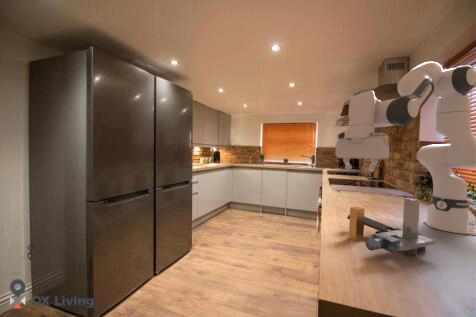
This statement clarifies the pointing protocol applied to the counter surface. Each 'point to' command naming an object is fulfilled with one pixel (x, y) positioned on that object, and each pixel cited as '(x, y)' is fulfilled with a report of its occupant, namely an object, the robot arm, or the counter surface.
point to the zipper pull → (384, 229)
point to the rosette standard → (402, 233)
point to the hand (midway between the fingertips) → (358, 170)
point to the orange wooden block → (356, 223)
